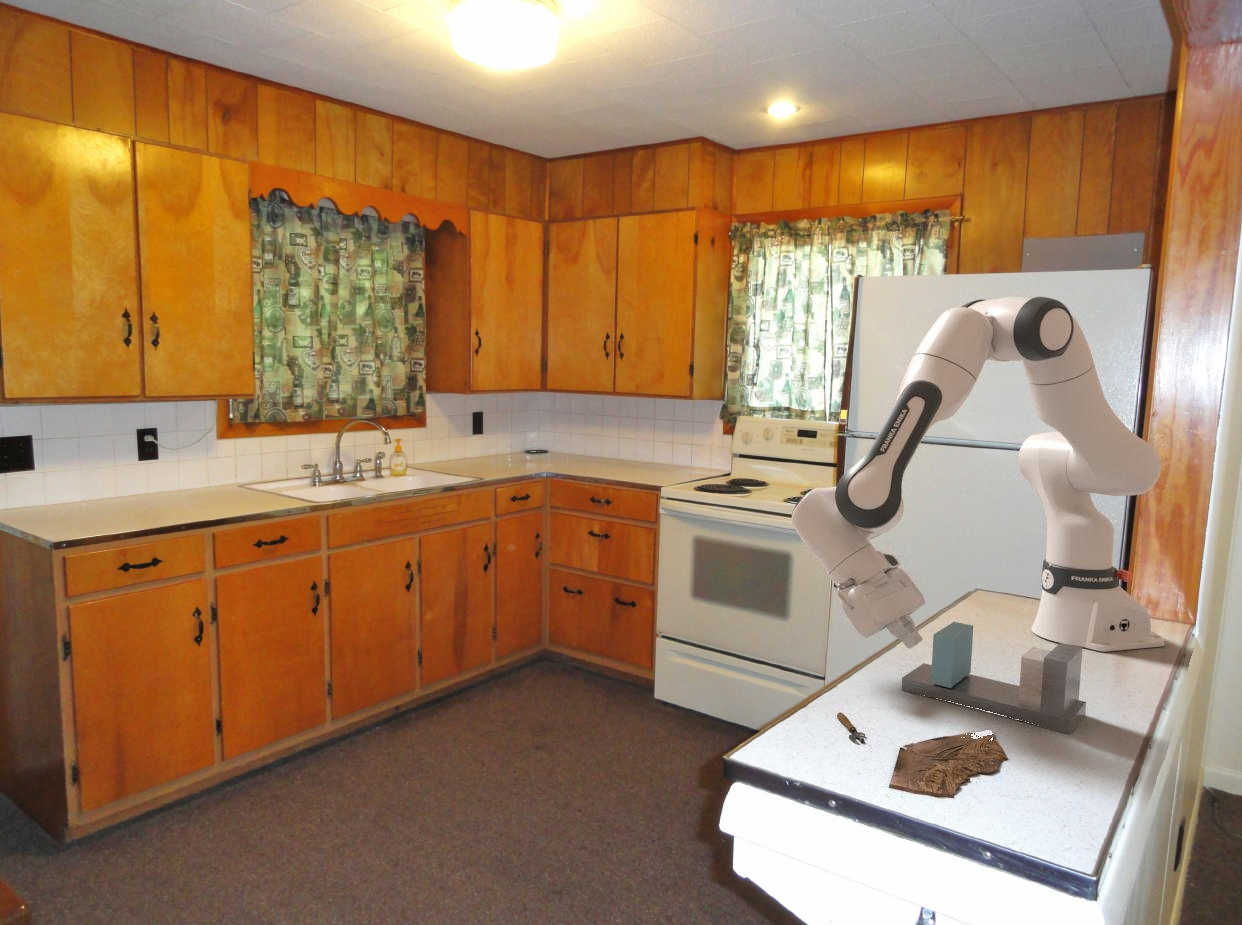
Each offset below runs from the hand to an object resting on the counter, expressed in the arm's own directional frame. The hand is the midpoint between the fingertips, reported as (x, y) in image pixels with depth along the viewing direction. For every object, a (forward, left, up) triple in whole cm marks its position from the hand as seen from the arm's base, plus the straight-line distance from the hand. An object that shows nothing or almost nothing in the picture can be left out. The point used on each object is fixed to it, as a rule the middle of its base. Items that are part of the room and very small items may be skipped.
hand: (916, 644), depth 134 cm
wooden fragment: (+7, +26, -7) cm, 28 cm away
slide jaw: (-4, +4, -4) cm, 7 cm away
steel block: (-13, +13, -4) cm, 19 cm away
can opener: (+17, +17, -7) cm, 25 cm away
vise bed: (-8, +8, -6) cm, 13 cm away
